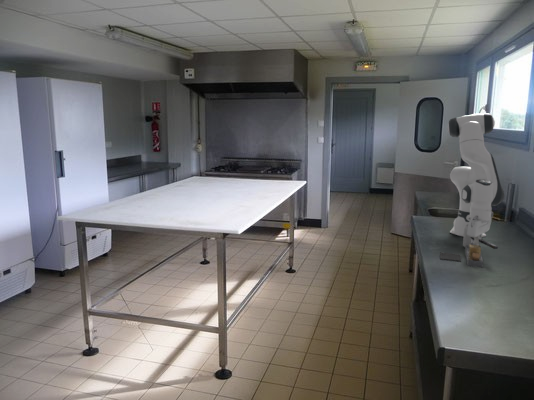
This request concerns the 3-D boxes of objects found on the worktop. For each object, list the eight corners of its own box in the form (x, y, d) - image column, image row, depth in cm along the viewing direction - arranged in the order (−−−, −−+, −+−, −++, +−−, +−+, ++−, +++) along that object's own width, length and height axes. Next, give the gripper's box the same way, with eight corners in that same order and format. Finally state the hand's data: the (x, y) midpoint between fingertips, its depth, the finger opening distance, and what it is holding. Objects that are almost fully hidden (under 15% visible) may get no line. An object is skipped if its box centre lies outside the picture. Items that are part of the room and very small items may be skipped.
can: (480, 250, 212) (482, 227, 210) (464, 249, 213) (466, 226, 211) (476, 246, 219) (478, 223, 217) (460, 245, 221) (463, 223, 219)
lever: (469, 237, 208) (469, 235, 208) (474, 237, 208) (474, 235, 208) (493, 249, 189) (493, 246, 189) (498, 248, 189) (498, 246, 189)
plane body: (464, 251, 210) (466, 237, 209) (478, 252, 208) (479, 238, 207) (467, 266, 188) (469, 250, 187) (482, 268, 186) (484, 252, 184)
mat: (440, 253, 206) (440, 252, 206) (460, 255, 203) (460, 254, 203) (440, 259, 197) (440, 258, 197) (461, 261, 194) (461, 260, 194)
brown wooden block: (468, 252, 198) (469, 244, 198) (479, 253, 197) (480, 245, 196) (469, 255, 193) (470, 247, 192) (480, 257, 192) (481, 248, 191)
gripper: (479, 219, 187) (476, 248, 190) (494, 212, 201) (491, 240, 204) (464, 216, 192) (462, 245, 194) (480, 210, 206) (477, 237, 208)
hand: (477, 242), depth 199 cm, fingers closed
